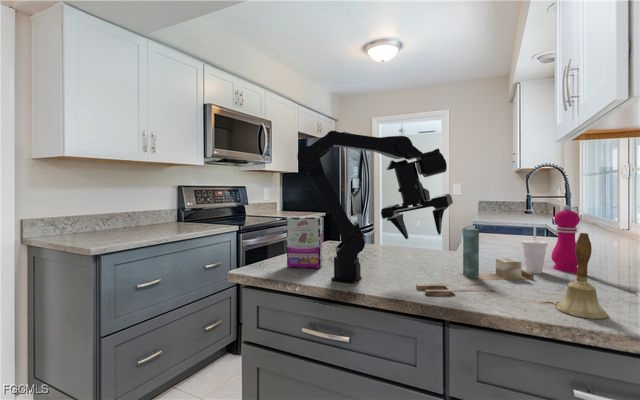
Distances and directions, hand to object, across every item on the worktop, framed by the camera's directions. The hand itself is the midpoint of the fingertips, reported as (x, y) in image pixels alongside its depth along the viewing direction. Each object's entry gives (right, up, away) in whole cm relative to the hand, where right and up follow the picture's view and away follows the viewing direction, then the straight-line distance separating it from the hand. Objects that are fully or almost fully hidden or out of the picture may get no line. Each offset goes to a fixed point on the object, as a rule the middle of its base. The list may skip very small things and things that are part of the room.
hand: (423, 236), depth 92 cm
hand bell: (+24, -13, -25) cm, 37 cm away
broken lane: (+5, -12, -11) cm, 17 cm away
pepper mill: (+44, -12, +7) cm, 46 cm away
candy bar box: (-33, -12, +17) cm, 39 cm away
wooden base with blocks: (+19, -12, -1) cm, 23 cm away
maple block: (+23, -11, -1) cm, 25 cm away
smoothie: (+33, -12, +4) cm, 35 cm away
